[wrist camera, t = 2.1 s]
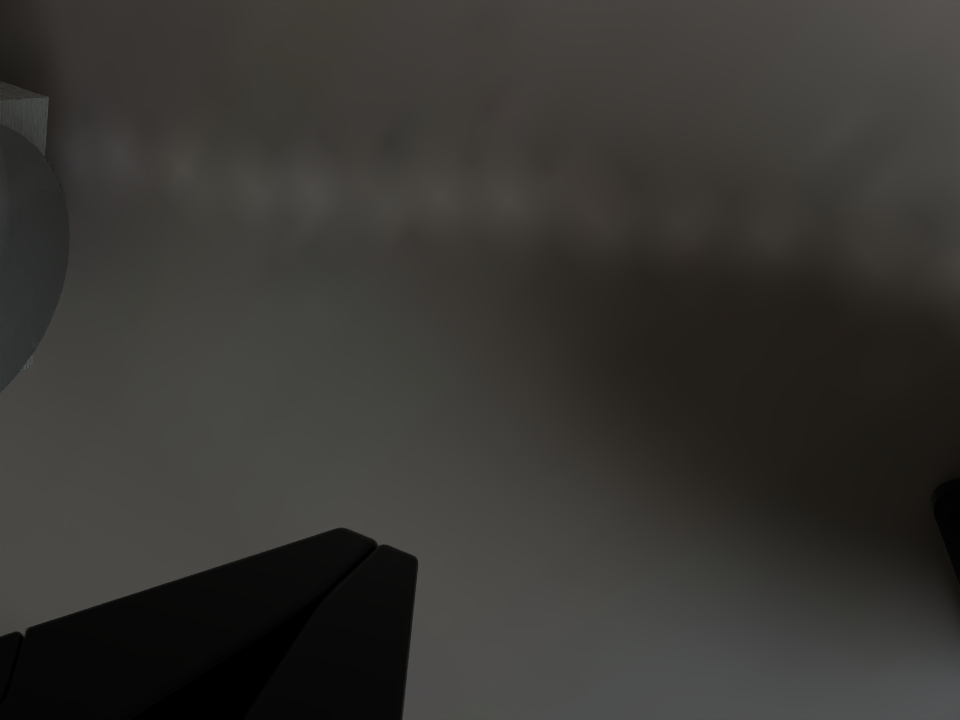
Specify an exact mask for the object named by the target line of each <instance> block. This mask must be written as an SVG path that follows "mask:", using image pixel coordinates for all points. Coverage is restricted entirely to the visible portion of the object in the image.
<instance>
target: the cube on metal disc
mask: <svg viewBox="0 0 960 720" xmlns="http://www.w3.org/2000/svg"><path fill="white" fill-rule="evenodd" d="M48 102H49V97H47V96H44V95H41V94H38V93H35V92H32V91H29V90H26V89H23V88H20V87H17V86H14V85H11V84H8V83H5V82H2V81H0V392H1V391H2V390H3V389H4V388H5V387H6V386H7V385H8V384H9V383H10V382H11V381H12V380H13V379H14V377H15V376H16V375H17V374H18V373H19V372H21V371H23V370H25V369H28V368H30V367H32V363H33V352H34V351H35V349H36V347H37V346H38V344H39V342H40V341H41V339H42V337H43V335H44V333H45V331H46V329H47V327H48V325H49V323H50V321H51V319H52V316H53V314H54V311H55V309H56V306H57V304H58V301H59V298H60V294H61V291H62V288H63V284H64V279H65V275H66V270H67V263H68V255H69V221H68V213H67V208H66V202H65V198H64V195H63V192H62V189H61V185H60V183H59V181H58V179H57V177H56V174H55V172H54V170H53V168H52V167H51V165H50V164H49V162H48V161H47V159H46V158H45V151H46V135H47V118H48Z"/></svg>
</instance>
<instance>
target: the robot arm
mask: <svg viewBox="0 0 960 720" xmlns="http://www.w3.org/2000/svg"><path fill="white" fill-rule="evenodd" d="M955 499H960V479H956V480H952V481H948V482H946V483H944V484H941V485H940V486H939V487H938V488H937V489H936V490H935V491H934V492H933V495H932V497H931V505H932V510H933V513H934V516H935V519H936V521H937V524H938V527H939V529H940V532H941V535H942V537H943V540H944V543H945V545H946V548H947V551H948V554H949V556H950V559H951V562H952V564H953V567H954V570H955V572H956V575H957V578H958V580H959V583H960V512H952V511H950V510H947V509H946V507H947V505H948V504H949V502H951V501H953V500H955ZM417 572H418V560H417V558H416V557H415V556H413V555H411V554H408V553H406V552H403V551H401V550H398V549H396V548H393V547H391V546H388V545H384V544H383V545H379V546H378V544H377V542H376V541H375V540H374V539H371V538H369V537H366V536H364V535H361V534H359V533H357V532H354V531H352V530H349V529H346V528H337V529H333V530H330V531H327V532H324V533H321V534H318V535H314V536H311V537H308V538H305V539H302V540H299V541H296V542H293V543H290V544H287V545H283V546H280V547H277V548H274V549H271V550H268V551H265V552H262V553H259V554H256V555H252V556H249V557H246V558H243V559H240V560H237V561H234V562H231V563H228V564H224V565H221V566H218V567H215V568H212V569H209V570H206V571H203V572H200V573H197V574H193V575H190V576H187V577H184V578H181V579H178V580H175V581H172V582H169V583H166V584H162V585H159V586H156V587H153V588H150V589H147V590H144V591H141V592H138V593H134V594H131V595H128V596H125V597H122V598H119V599H116V600H113V601H110V602H107V603H103V604H100V605H97V606H94V607H91V608H88V609H85V610H82V611H79V612H76V613H72V614H69V615H66V616H63V617H60V618H57V619H54V620H51V621H48V622H45V623H41V624H38V625H35V626H32V627H29V628H27V629H26V630H25V631H24V633H23V637H22V634H21V633H20V632H13V633H9V634H6V635H3V636H0V720H402V718H403V708H404V699H405V689H406V679H407V669H408V659H409V650H410V640H411V630H412V620H413V611H414V601H415V591H416V581H417Z"/></svg>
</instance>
